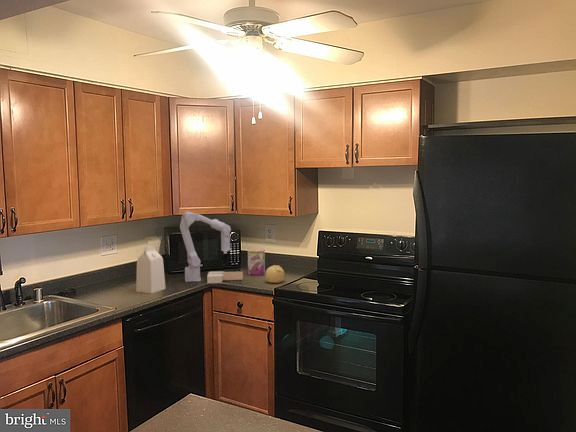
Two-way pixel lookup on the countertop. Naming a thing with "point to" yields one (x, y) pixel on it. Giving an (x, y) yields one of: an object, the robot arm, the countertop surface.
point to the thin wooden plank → (232, 275)
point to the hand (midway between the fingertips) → (226, 262)
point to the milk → (150, 271)
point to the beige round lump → (274, 274)
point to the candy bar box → (256, 262)
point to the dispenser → (214, 277)
